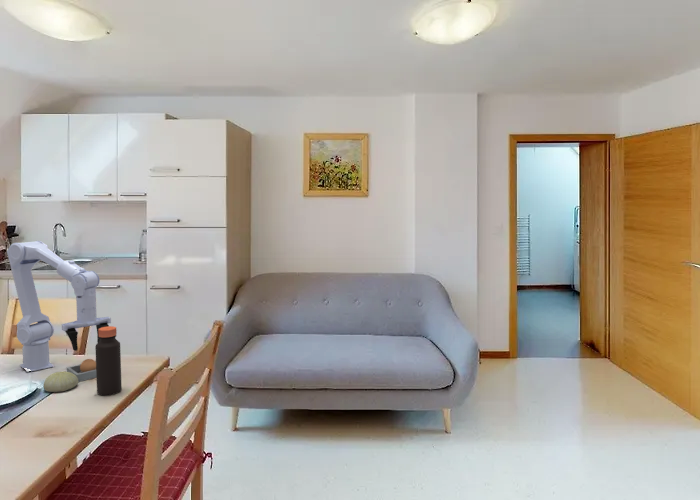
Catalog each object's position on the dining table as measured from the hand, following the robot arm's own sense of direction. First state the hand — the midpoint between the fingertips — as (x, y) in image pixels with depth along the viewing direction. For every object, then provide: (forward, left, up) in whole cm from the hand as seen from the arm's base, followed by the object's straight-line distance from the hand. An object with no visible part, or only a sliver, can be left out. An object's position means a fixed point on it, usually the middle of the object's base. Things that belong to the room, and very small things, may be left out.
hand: (87, 347), depth 158 cm
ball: (0, 0, -9) cm, 9 cm away
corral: (0, 0, -9) cm, 9 cm away
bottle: (+20, -1, -10) cm, 22 cm away
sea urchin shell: (+6, -10, -10) cm, 15 cm away
